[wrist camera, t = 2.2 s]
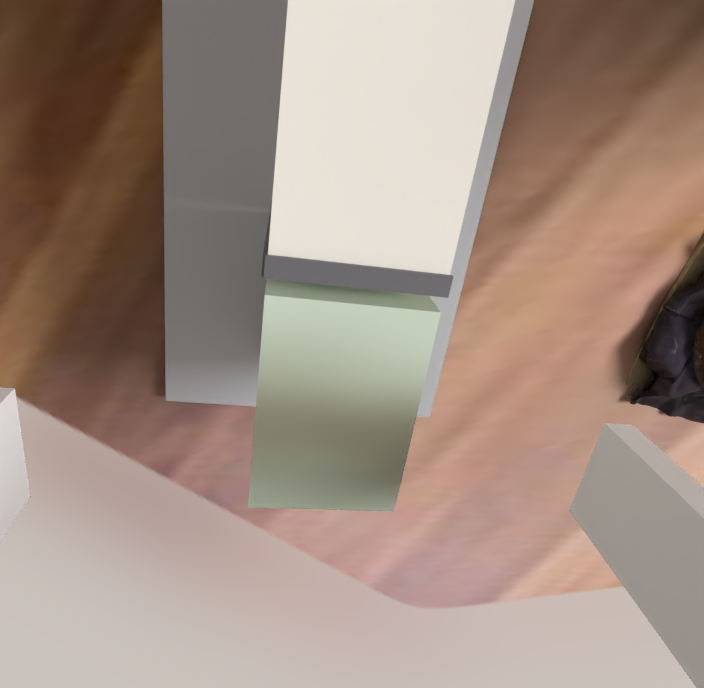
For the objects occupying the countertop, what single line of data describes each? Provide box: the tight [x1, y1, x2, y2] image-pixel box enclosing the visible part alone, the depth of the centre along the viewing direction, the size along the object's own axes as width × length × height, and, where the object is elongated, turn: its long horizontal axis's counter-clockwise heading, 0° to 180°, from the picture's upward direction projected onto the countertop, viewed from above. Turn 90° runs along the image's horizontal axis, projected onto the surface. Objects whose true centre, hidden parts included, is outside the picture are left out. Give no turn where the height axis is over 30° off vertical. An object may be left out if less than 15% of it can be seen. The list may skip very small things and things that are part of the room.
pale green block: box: [248, 279, 441, 512], centre depth 16 cm, size 6×4×9 cm, turn 172°
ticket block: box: [162, 0, 534, 417], centre depth 14 cm, size 24×12×10 cm, turn 172°
